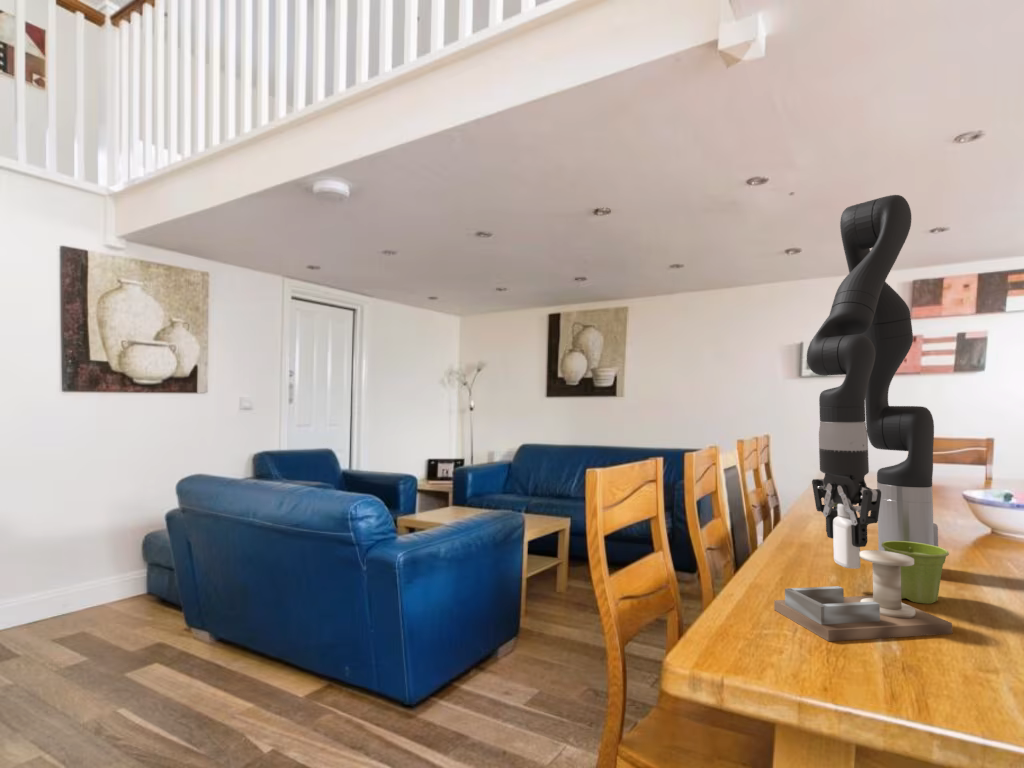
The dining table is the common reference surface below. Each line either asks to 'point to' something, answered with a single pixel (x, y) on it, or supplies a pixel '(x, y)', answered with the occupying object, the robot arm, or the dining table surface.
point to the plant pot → (919, 570)
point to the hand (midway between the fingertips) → (846, 541)
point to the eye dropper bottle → (844, 540)
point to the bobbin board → (862, 606)
